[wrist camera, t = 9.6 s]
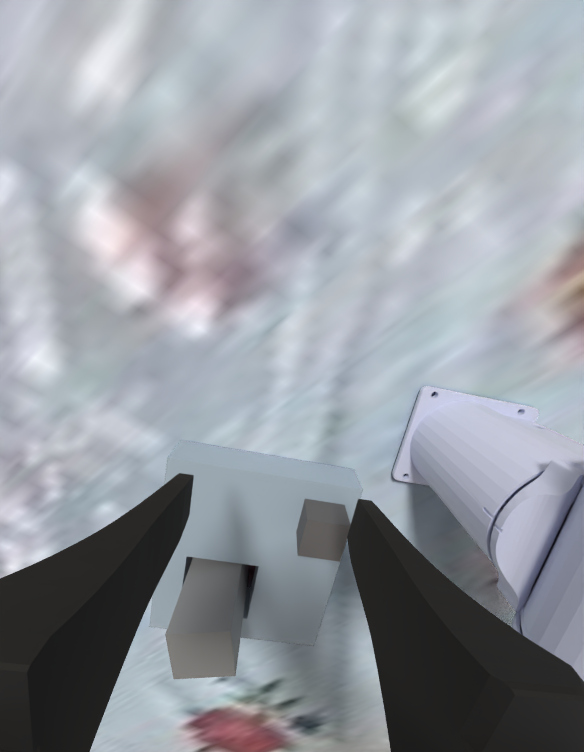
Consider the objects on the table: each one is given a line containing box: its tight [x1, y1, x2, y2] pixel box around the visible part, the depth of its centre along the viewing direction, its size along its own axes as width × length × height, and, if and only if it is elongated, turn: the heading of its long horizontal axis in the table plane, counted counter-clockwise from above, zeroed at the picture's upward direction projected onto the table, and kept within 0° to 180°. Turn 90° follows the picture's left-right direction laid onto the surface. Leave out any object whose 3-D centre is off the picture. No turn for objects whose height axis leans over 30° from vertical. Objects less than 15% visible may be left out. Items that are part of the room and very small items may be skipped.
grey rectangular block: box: [165, 557, 249, 679], centre depth 21 cm, size 4×4×7 cm
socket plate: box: [149, 440, 363, 646], centre depth 21 cm, size 14×16×4 cm
